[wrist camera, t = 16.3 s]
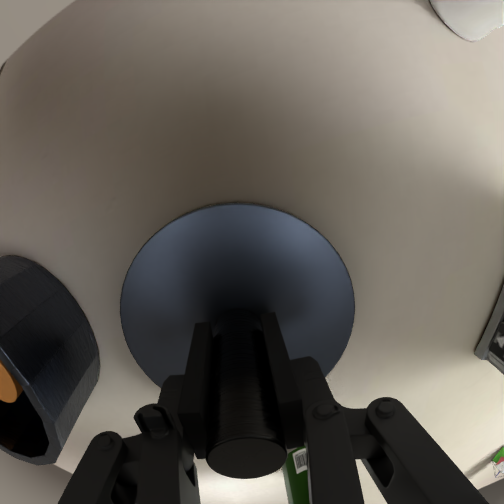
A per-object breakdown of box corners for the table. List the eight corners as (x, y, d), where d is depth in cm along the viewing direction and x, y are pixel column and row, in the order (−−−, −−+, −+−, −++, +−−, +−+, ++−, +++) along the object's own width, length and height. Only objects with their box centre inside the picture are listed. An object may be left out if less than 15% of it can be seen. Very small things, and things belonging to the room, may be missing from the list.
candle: (-1, 314, 16) (-47, 351, 10) (35, 311, 16) (-14, 355, 10) (20, 363, 17) (-17, 406, 11) (58, 365, 17) (21, 416, 11)
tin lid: (102, 224, 16) (-22, 286, 6) (342, 187, 16) (472, 211, 6) (160, 408, 19) (135, 525, 9) (346, 382, 20) (402, 492, 10)
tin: (-39, 266, 15) (-98, 298, 8) (65, 241, 16) (-14, 283, 8) (15, 394, 18) (-21, 444, 11) (124, 403, 19) (96, 479, 12)
